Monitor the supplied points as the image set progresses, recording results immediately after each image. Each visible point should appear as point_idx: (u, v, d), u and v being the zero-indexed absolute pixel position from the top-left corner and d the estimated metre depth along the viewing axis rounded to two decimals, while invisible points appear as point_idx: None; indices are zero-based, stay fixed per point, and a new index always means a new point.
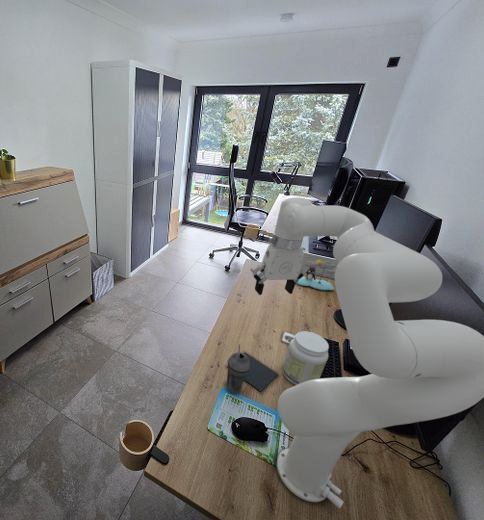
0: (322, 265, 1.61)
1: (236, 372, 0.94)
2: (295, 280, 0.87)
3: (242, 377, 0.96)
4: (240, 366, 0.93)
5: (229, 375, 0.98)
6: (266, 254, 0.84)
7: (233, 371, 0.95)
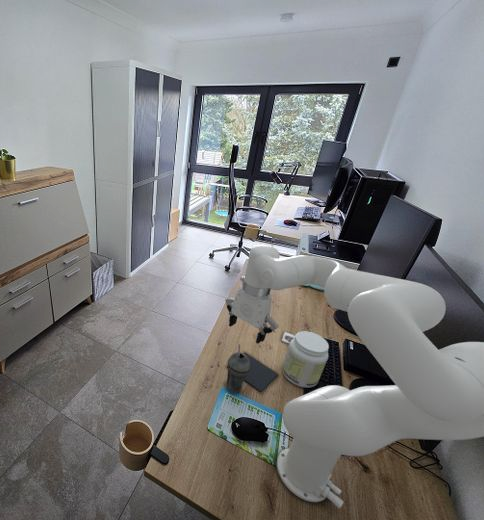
0: None
1: (236, 372, 0.94)
2: (261, 331, 0.84)
3: (242, 377, 0.96)
4: (240, 366, 0.93)
5: (229, 375, 0.98)
6: None
7: (233, 371, 0.95)
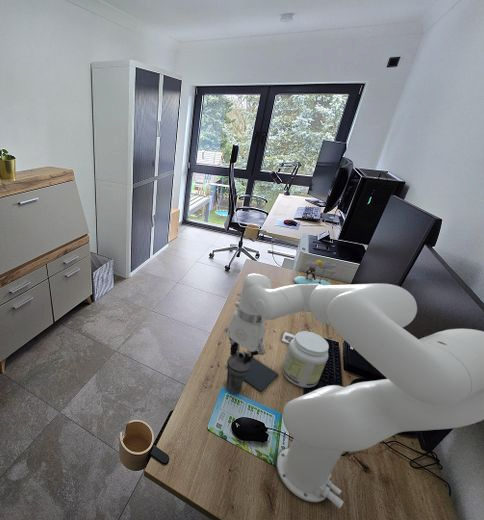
0: (322, 265, 1.61)
1: (236, 372, 0.94)
2: (248, 353, 0.91)
3: (242, 377, 0.96)
4: (240, 366, 0.93)
5: (229, 375, 0.98)
6: None
7: (233, 371, 0.95)
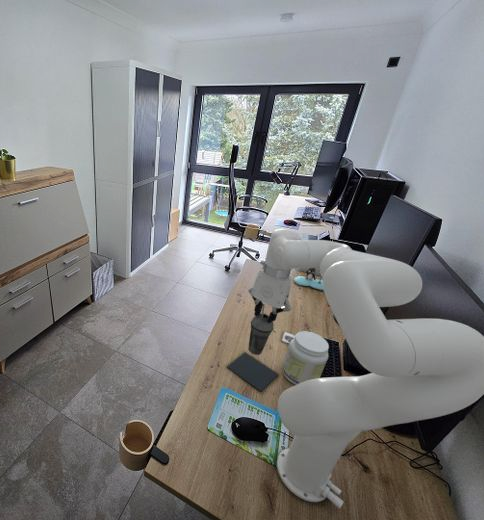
0: None
1: (260, 332, 0.95)
2: (273, 311, 0.91)
3: (265, 337, 0.96)
4: (265, 326, 0.94)
5: (252, 336, 0.99)
6: None
7: (257, 331, 0.95)
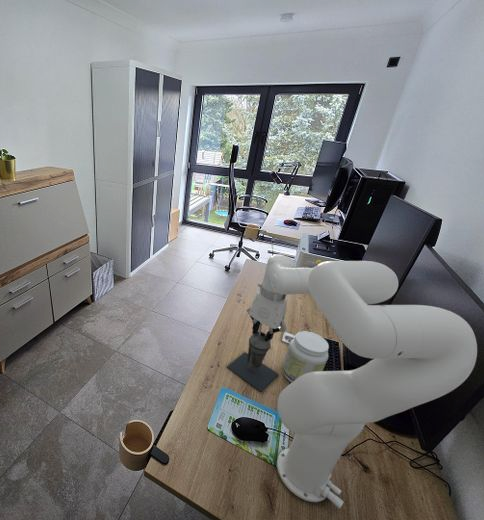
0: None
1: (257, 350, 1.00)
2: (269, 331, 0.96)
3: (263, 354, 1.01)
4: (262, 344, 0.99)
5: (250, 353, 1.04)
6: None
7: (254, 349, 1.01)
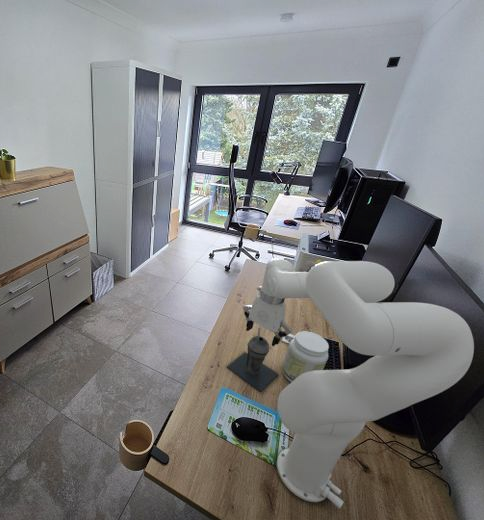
0: None
1: (256, 354, 1.01)
2: (276, 335, 0.94)
3: (261, 359, 1.02)
4: (260, 348, 1.00)
5: (249, 357, 1.05)
6: None
7: (253, 353, 1.02)
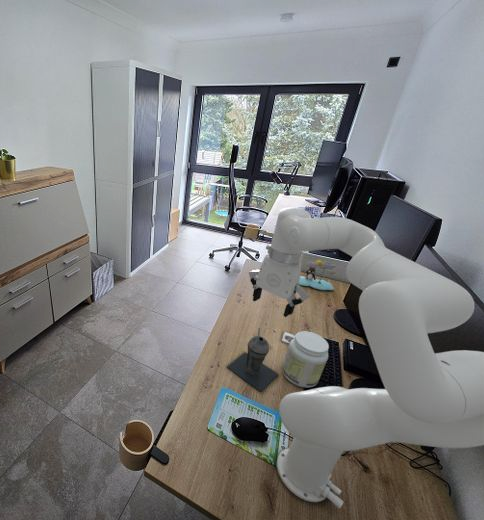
0: (322, 265, 1.61)
1: (256, 354, 1.01)
2: (290, 303, 0.79)
3: (261, 359, 1.02)
4: (260, 348, 1.00)
5: (249, 357, 1.05)
6: None
7: (253, 353, 1.02)
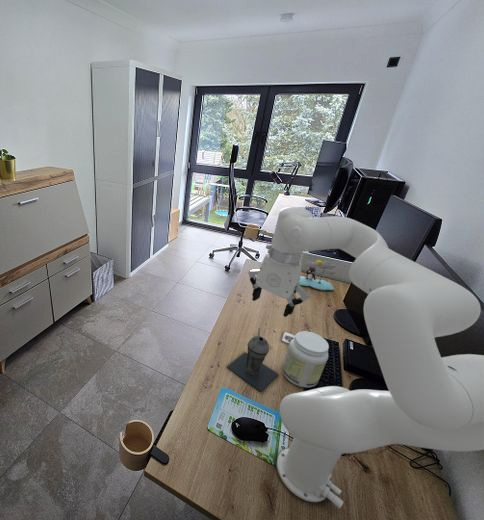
0: (322, 265, 1.61)
1: (256, 354, 1.01)
2: (290, 303, 0.78)
3: (261, 359, 1.02)
4: (260, 348, 1.00)
5: (249, 357, 1.05)
6: None
7: (253, 353, 1.02)
